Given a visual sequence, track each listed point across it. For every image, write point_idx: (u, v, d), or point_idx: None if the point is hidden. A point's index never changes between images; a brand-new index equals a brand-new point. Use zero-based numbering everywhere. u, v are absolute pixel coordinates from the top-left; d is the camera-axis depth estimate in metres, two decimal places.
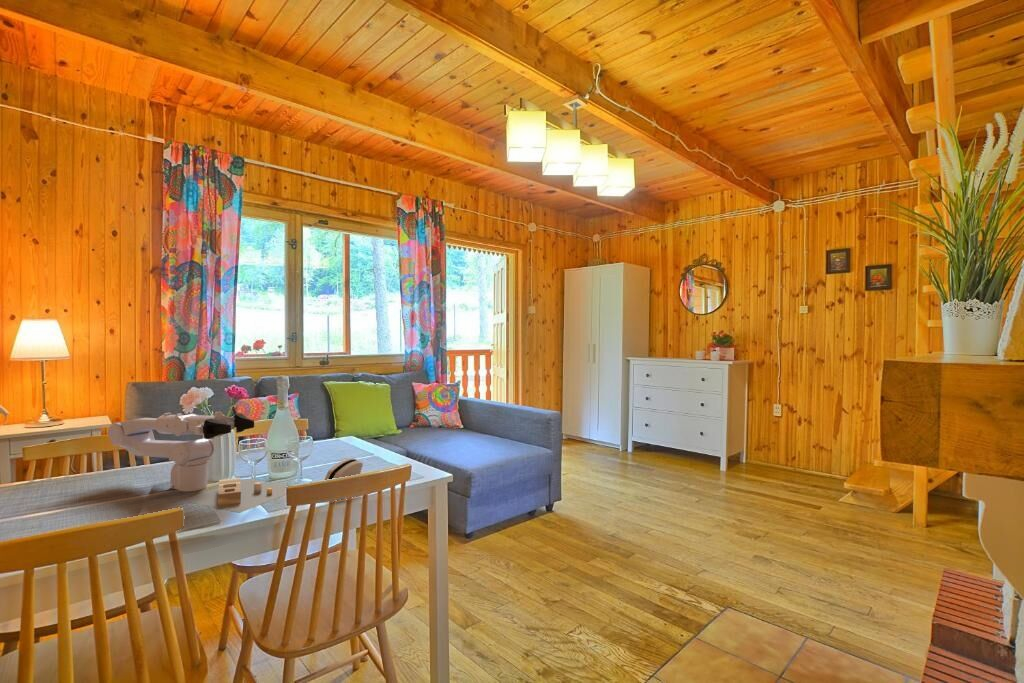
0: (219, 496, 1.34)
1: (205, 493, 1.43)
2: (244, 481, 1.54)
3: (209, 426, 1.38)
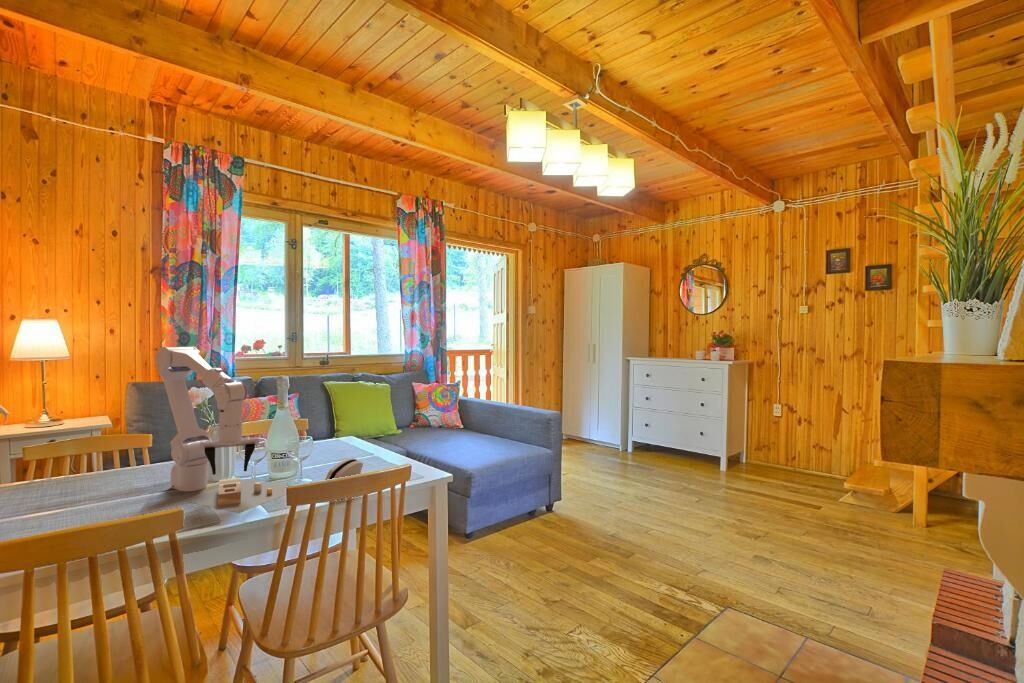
0: (219, 496, 1.34)
1: (205, 493, 1.43)
2: (244, 481, 1.54)
3: None
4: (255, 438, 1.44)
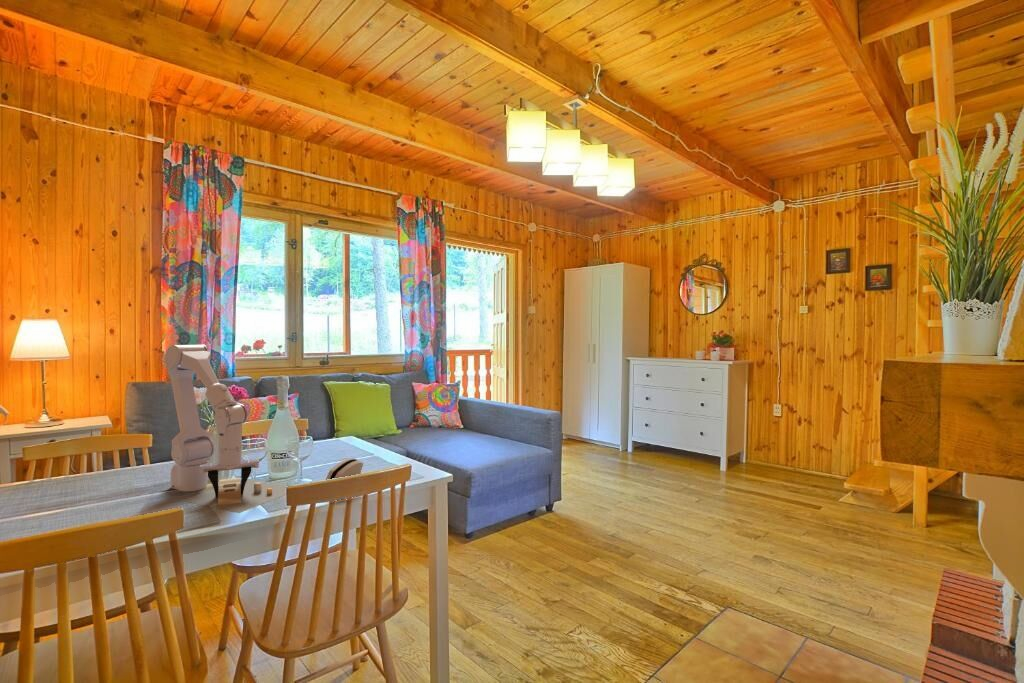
0: (219, 496, 1.34)
1: (205, 493, 1.43)
2: None
3: None
4: (255, 461, 1.44)
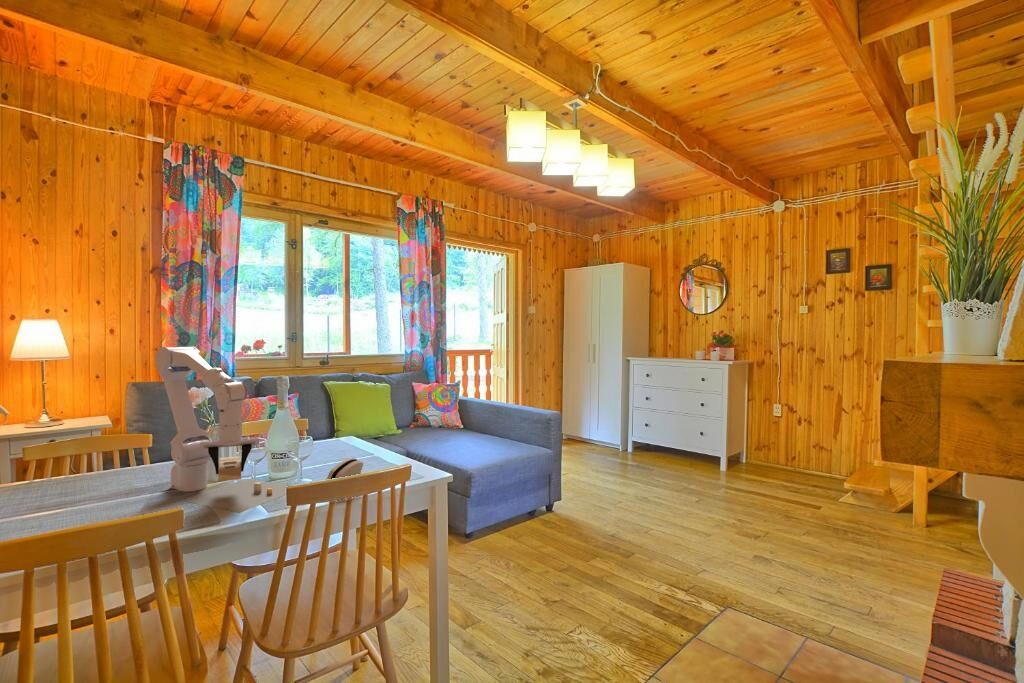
0: (219, 472, 1.34)
1: (205, 493, 1.43)
2: (244, 481, 1.54)
3: None
4: (255, 438, 1.44)
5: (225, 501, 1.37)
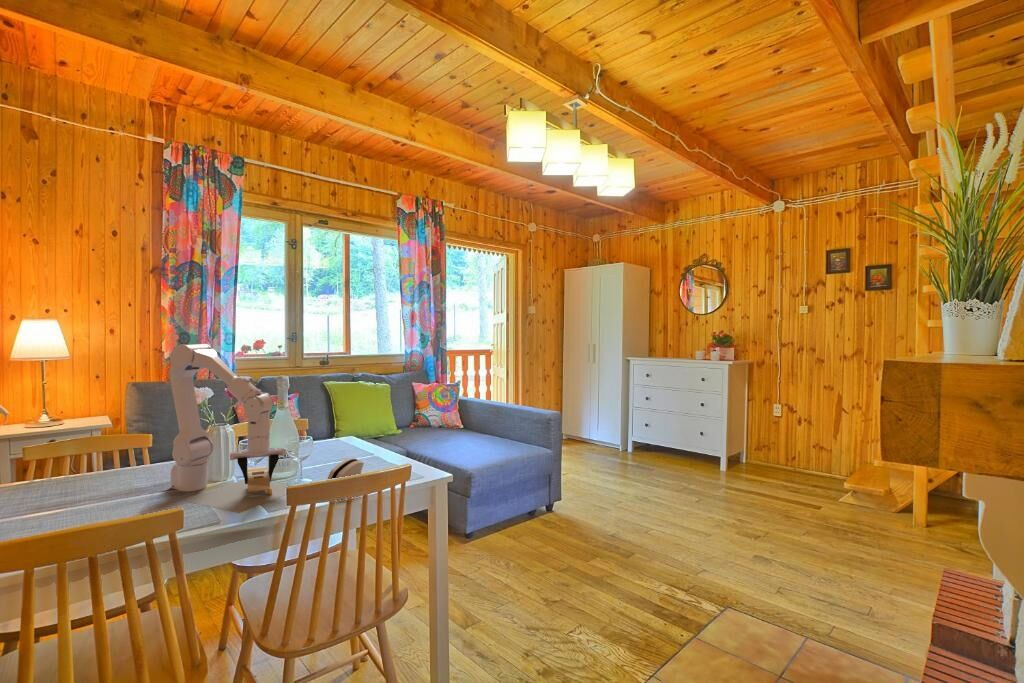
0: (249, 482, 1.38)
1: (205, 493, 1.43)
2: (244, 481, 1.54)
3: None
4: (282, 448, 1.48)
5: (225, 501, 1.37)
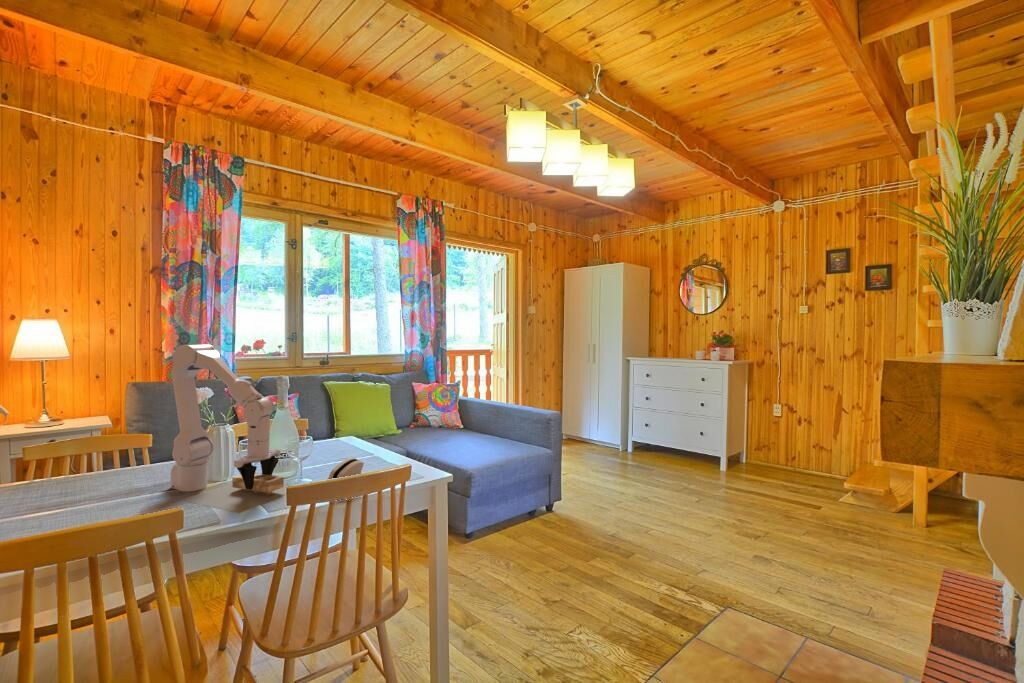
0: (269, 484, 1.40)
1: (205, 493, 1.43)
2: None
3: None
4: (275, 450, 1.51)
5: (225, 501, 1.37)
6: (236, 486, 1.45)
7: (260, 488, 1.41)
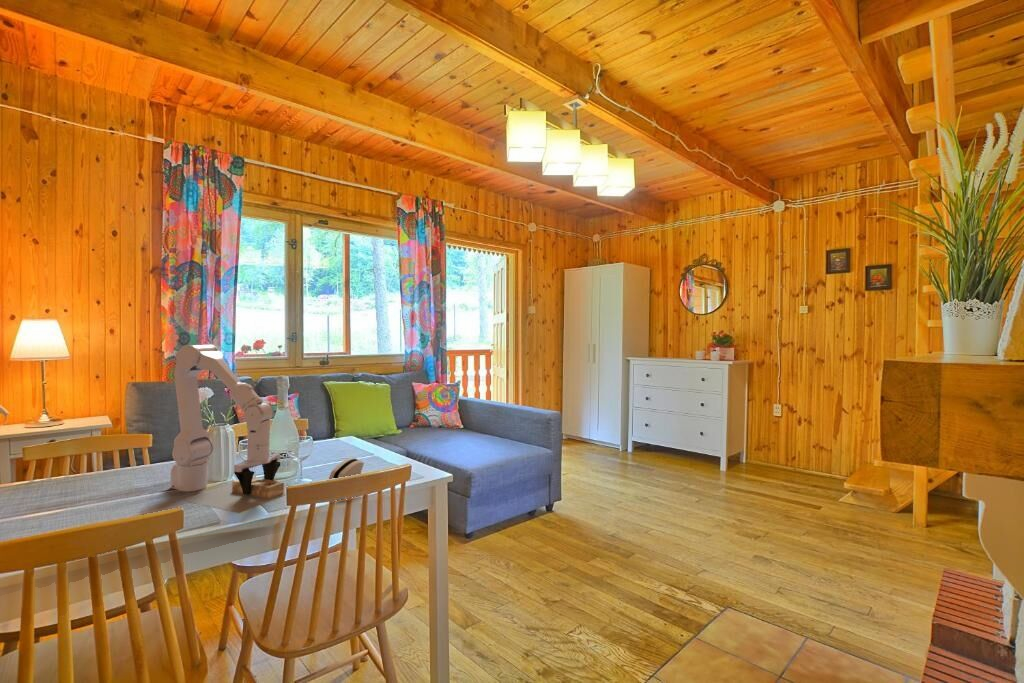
0: (269, 489, 1.41)
1: (205, 493, 1.43)
2: None
3: None
4: (275, 454, 1.51)
5: (225, 501, 1.37)
6: (236, 490, 1.45)
7: (260, 493, 1.41)
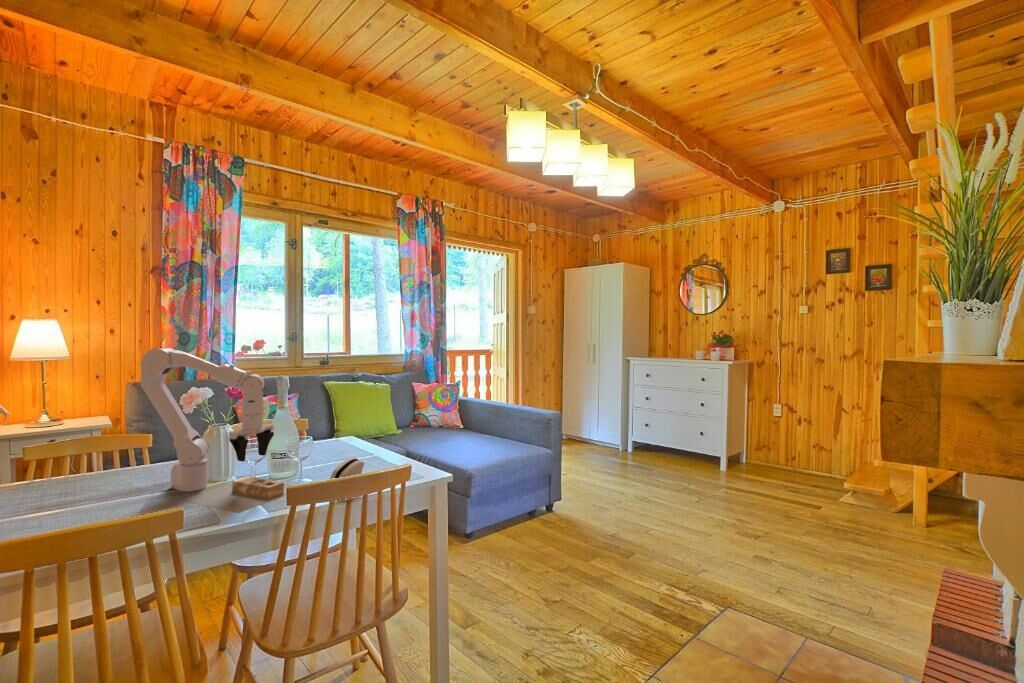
0: (269, 489, 1.41)
1: (205, 493, 1.43)
2: None
3: None
4: (269, 425, 1.58)
5: (225, 501, 1.37)
6: (236, 490, 1.45)
7: (260, 493, 1.41)
